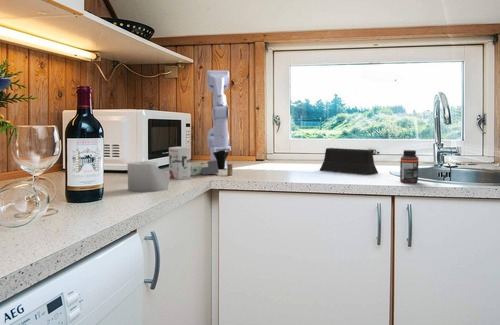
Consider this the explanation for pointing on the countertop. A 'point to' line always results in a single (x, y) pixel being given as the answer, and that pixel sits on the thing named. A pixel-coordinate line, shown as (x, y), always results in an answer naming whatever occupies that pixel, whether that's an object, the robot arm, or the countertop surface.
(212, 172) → the grey faceted block
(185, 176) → the ink box
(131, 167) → the grey sloped wedge
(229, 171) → the tan small pieces
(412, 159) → the supplement bottle
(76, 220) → the countertop surface
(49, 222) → the countertop surface
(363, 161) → the black broom head
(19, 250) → the countertop surface
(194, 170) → the pale green bar
